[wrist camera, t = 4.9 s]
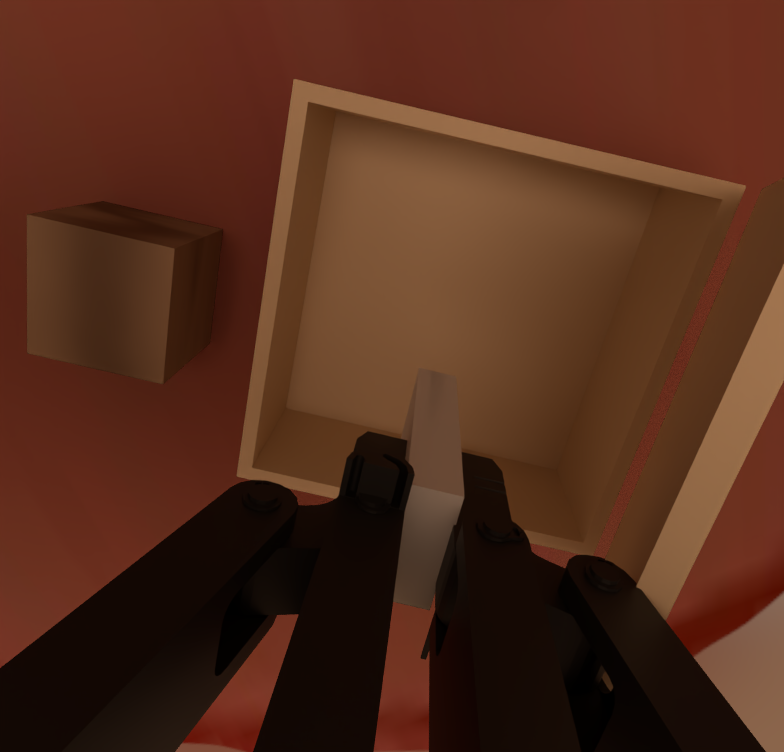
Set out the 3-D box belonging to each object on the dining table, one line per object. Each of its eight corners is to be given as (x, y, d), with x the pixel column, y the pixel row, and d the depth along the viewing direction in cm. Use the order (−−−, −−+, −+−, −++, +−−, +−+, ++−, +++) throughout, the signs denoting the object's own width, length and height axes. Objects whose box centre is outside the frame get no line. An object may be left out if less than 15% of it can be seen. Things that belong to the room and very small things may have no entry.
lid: (487, 911, 13) (518, 933, 13) (835, 151, 8) (900, 164, 7) (603, 563, 27) (619, 571, 26) (761, 189, 21) (784, 193, 21)
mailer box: (275, 411, 33) (236, 476, 27) (327, 94, 27) (293, 78, 21) (561, 476, 33) (592, 557, 27) (673, 176, 28) (746, 185, 21)
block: (98, 316, 32) (27, 353, 26) (103, 201, 30) (26, 214, 24) (210, 342, 32) (163, 384, 27) (223, 229, 30) (174, 248, 24)
